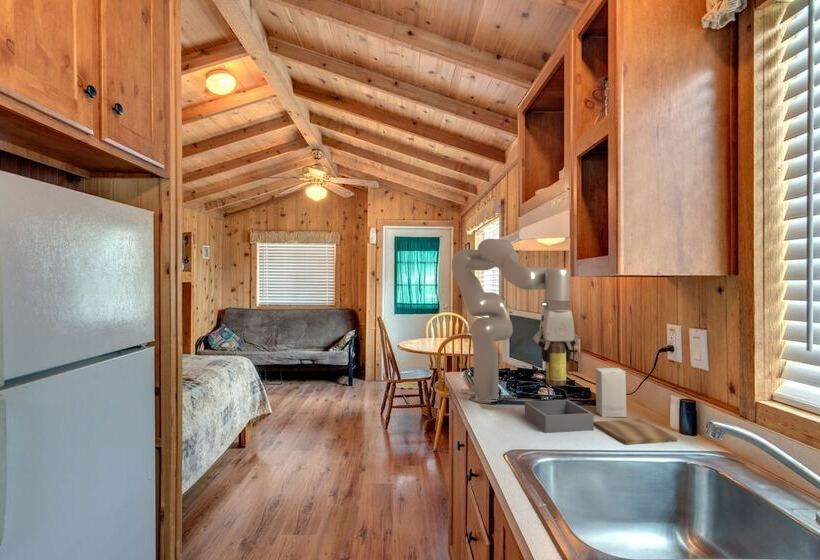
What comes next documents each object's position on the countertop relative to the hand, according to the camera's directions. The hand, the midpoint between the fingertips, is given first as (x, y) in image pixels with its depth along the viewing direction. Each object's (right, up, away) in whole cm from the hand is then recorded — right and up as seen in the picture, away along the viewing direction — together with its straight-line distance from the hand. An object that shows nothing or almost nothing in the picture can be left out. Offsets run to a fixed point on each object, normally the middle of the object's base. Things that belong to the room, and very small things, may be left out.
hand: (555, 360), depth 138 cm
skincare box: (+21, -20, +8) cm, 30 cm away
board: (+20, -20, -10) cm, 30 cm away
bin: (0, -20, 0) cm, 20 cm away
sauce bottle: (0, -8, 0) cm, 8 cm away
